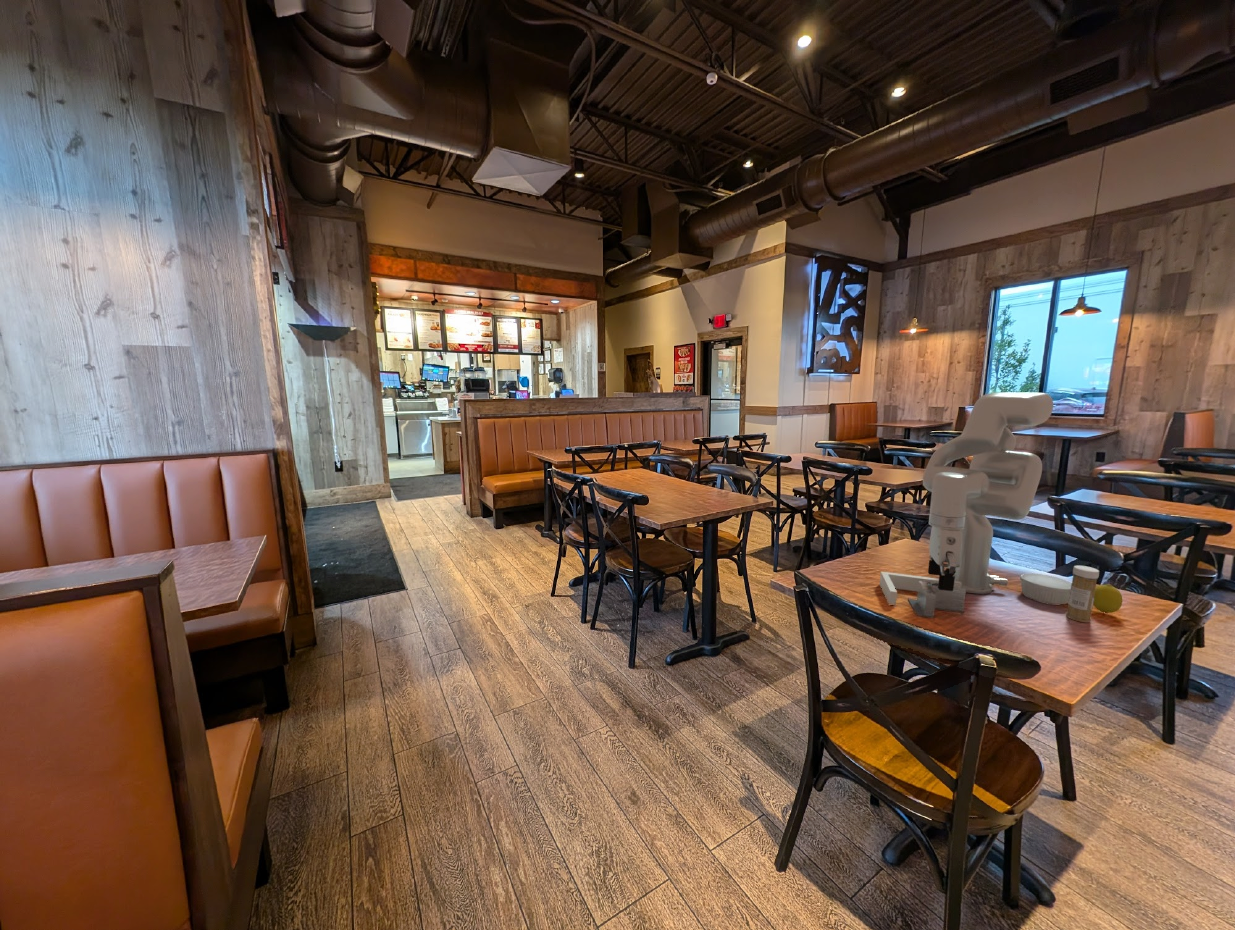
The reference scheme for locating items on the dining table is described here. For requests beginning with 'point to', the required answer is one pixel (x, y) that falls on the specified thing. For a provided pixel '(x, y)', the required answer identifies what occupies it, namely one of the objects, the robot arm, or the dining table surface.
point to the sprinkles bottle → (1082, 593)
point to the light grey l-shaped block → (902, 584)
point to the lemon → (1107, 598)
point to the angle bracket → (939, 598)
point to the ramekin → (1045, 588)
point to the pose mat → (920, 613)
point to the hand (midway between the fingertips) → (940, 582)
